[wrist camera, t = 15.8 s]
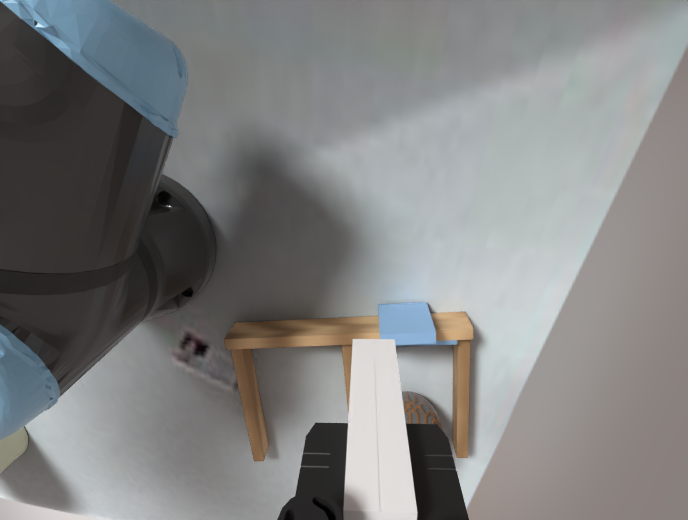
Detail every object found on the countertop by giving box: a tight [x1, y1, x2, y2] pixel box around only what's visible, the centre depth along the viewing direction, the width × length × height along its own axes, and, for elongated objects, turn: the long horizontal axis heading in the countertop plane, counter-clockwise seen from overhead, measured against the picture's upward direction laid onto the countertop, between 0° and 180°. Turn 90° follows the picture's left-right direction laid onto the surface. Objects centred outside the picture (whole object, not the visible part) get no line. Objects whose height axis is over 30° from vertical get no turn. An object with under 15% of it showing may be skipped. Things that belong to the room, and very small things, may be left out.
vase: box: [402, 392, 442, 430], centre depth 42 cm, size 7×7×9 cm
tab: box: [378, 302, 436, 345], centre depth 39 cm, size 5×1×6 cm, turn 95°
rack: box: [224, 312, 473, 461], centre depth 44 cm, size 25×17×4 cm
